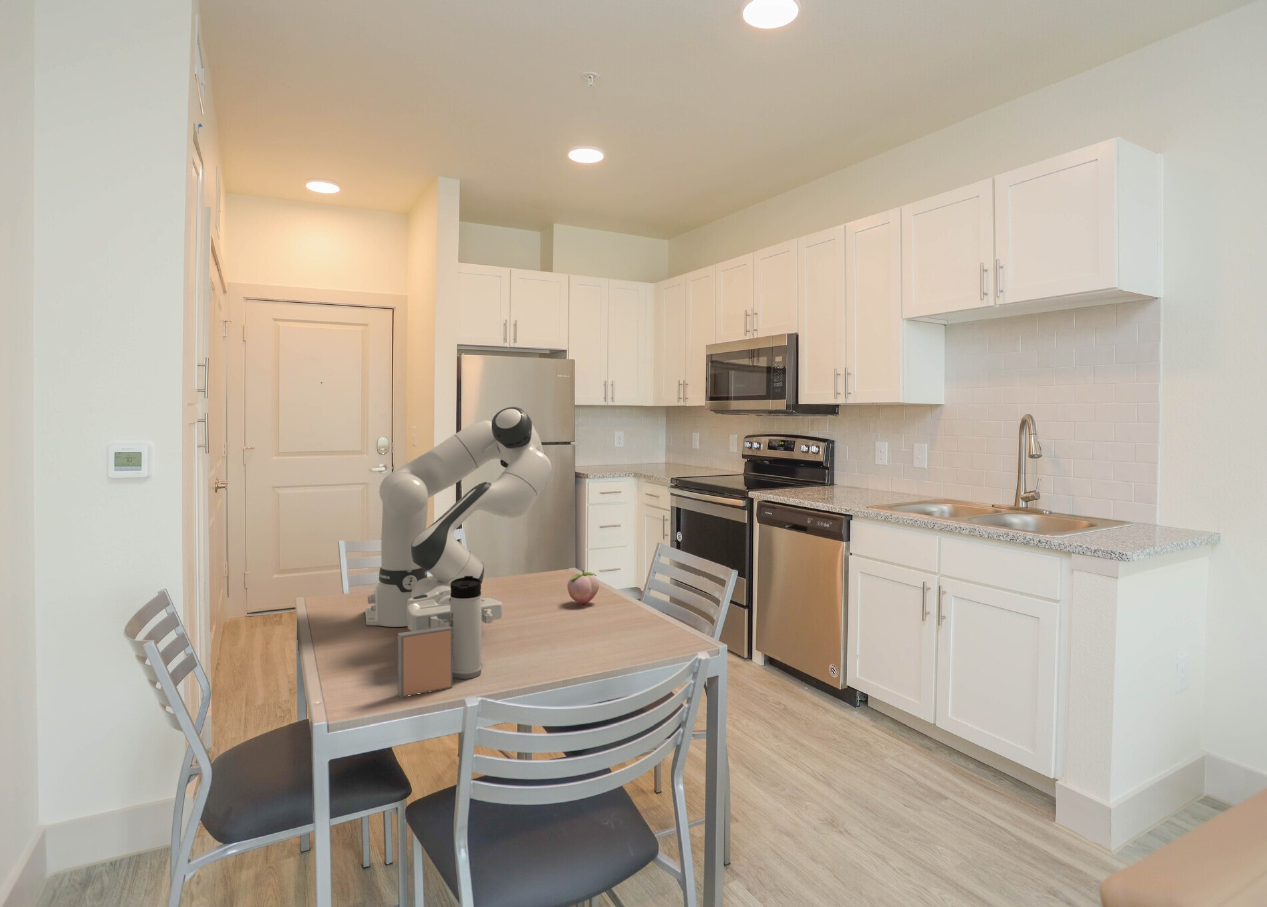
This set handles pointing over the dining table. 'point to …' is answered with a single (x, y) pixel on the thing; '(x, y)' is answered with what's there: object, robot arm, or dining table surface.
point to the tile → (424, 660)
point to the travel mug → (466, 627)
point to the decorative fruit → (583, 587)
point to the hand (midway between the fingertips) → (467, 622)
